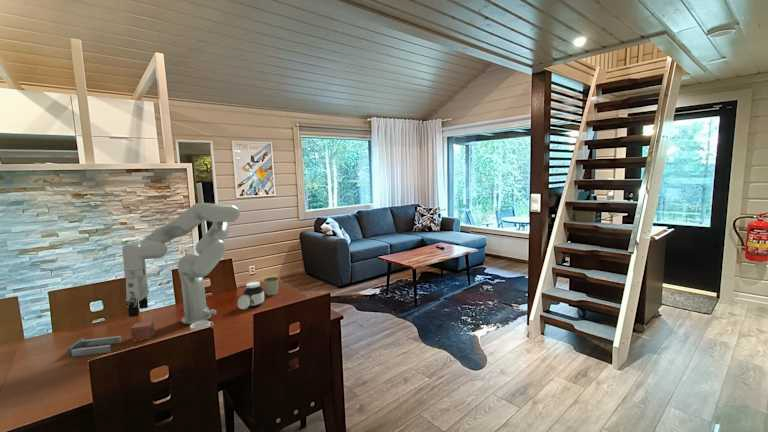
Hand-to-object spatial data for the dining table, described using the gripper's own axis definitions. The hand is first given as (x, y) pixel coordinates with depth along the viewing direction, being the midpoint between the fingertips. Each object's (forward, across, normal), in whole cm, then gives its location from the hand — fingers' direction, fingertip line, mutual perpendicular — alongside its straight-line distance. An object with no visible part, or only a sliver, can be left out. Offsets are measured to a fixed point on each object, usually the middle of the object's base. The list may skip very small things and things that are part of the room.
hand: (138, 312), depth 152 cm
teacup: (+12, -4, -26) cm, 29 cm away
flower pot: (+10, +43, -51) cm, 67 cm away
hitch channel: (+12, -5, +14) cm, 19 cm away
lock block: (+12, +1, -1) cm, 12 cm away
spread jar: (+11, +26, -42) cm, 50 cm away
